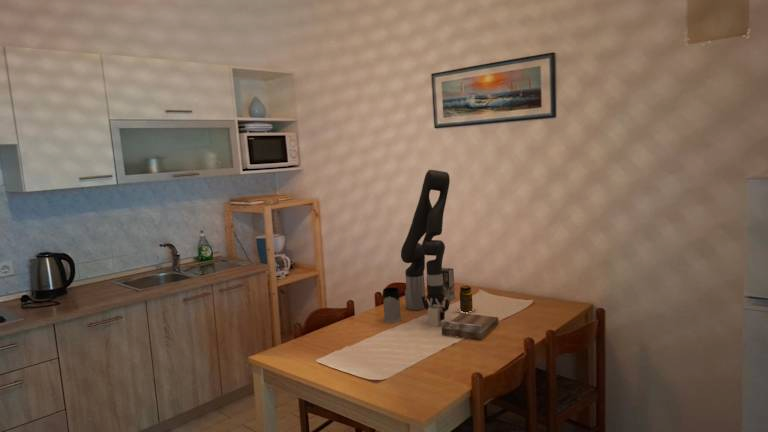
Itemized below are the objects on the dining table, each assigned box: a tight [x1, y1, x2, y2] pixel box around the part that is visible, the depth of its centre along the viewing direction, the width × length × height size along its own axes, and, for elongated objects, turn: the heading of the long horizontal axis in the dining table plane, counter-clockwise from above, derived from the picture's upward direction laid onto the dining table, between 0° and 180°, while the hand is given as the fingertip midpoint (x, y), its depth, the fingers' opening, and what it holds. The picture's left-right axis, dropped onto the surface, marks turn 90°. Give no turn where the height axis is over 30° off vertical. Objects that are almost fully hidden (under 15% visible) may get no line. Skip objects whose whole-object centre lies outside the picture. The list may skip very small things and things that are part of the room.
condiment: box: [457, 285, 474, 313], centre depth 257 cm, size 7×8×12 cm
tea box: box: [427, 305, 446, 328], centre depth 242 cm, size 5×8×8 cm, turn 149°
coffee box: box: [442, 267, 456, 301], centre depth 280 cm, size 9×6×16 cm
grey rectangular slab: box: [440, 312, 499, 341], centre depth 232 cm, size 18×22×6 cm
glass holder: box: [382, 287, 403, 324], centre depth 253 cm, size 9×14×15 cm, turn 166°
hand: (436, 318), depth 242 cm, fingers closed on tea box, 5 cm apart
